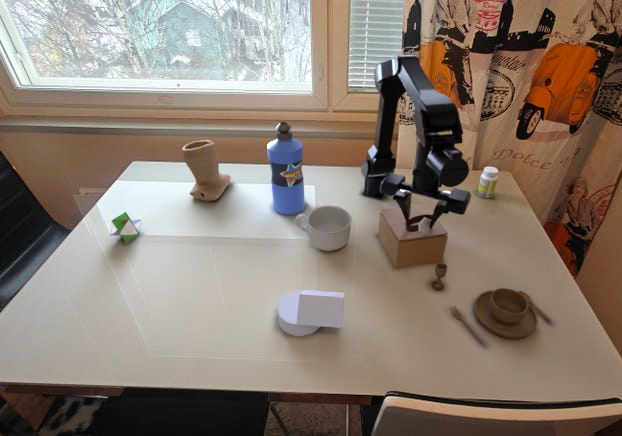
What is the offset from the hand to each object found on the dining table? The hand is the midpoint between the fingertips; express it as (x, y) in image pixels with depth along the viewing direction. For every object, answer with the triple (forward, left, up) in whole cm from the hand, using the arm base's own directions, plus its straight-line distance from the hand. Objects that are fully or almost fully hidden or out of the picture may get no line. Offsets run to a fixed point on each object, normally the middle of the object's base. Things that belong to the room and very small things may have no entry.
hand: (419, 224), depth 89 cm
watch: (0, 0, -1) cm, 1 cm away
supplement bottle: (+10, +39, -10) cm, 41 cm away
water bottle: (-39, +5, -10) cm, 41 cm away
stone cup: (-66, +1, -10) cm, 67 cm away
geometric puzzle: (-67, -27, -10) cm, 73 cm away
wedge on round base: (-12, -28, -10) cm, 32 cm away
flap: (-4, +5, -2) cm, 7 cm away
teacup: (-22, -5, -10) cm, 25 cm away
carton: (-2, +3, -10) cm, 10 cm away
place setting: (+19, -8, -10) cm, 22 cm away
